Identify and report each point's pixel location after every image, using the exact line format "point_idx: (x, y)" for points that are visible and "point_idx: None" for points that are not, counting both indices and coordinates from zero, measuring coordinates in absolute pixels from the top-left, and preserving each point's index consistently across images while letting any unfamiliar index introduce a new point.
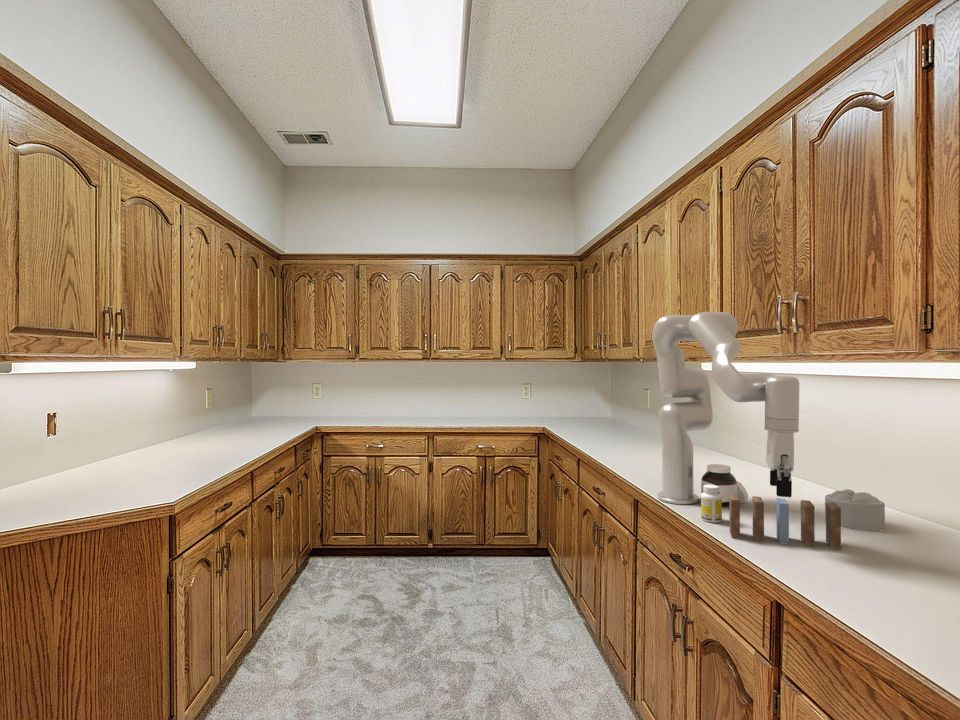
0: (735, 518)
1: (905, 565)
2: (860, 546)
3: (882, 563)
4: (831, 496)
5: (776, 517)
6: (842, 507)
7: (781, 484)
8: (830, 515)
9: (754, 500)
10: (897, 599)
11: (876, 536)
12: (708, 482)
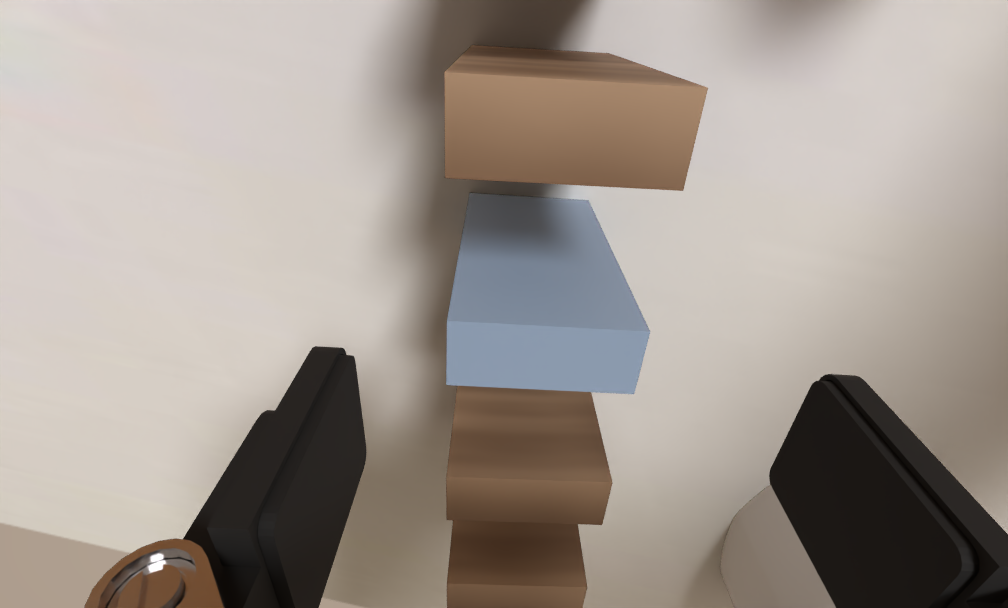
0: None
1: (366, 541)
2: None
3: None
4: None
5: (606, 248)
6: (805, 582)
7: (200, 513)
8: (467, 530)
9: (493, 74)
10: (6, 444)
11: (655, 552)
12: None
